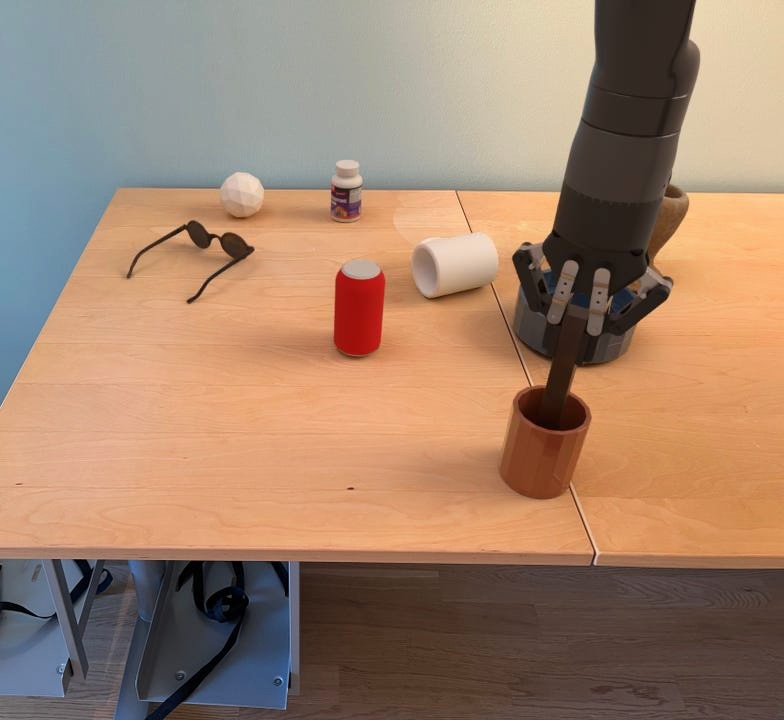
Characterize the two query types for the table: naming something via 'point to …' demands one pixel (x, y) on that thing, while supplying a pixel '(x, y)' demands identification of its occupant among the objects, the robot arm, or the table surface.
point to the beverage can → (358, 307)
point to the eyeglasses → (203, 239)
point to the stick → (562, 368)
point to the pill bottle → (346, 192)
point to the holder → (542, 445)
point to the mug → (454, 264)
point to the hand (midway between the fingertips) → (566, 356)
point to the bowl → (534, 323)
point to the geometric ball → (242, 194)
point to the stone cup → (665, 224)
